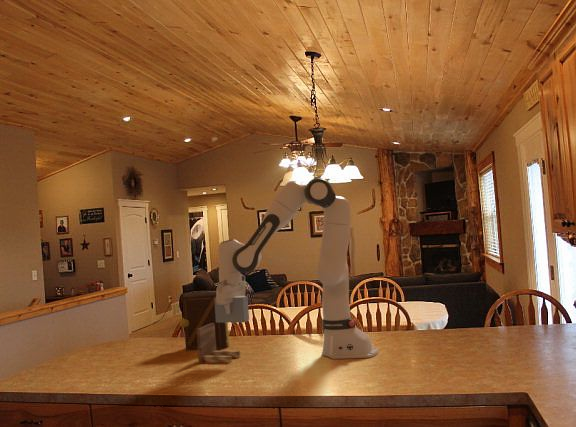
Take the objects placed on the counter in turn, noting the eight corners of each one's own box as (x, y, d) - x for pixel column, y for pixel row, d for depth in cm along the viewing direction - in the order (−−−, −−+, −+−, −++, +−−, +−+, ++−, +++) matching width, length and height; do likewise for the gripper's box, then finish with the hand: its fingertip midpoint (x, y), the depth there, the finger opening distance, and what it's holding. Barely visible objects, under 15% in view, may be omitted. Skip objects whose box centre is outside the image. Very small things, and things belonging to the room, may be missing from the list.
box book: (249, 320, 220) (247, 295, 220) (244, 322, 216) (242, 297, 216) (220, 320, 224) (219, 296, 225) (215, 322, 220) (214, 297, 220)
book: (230, 344, 250) (226, 291, 250) (226, 348, 241) (222, 293, 242) (184, 347, 252) (181, 294, 252) (179, 351, 243) (175, 296, 244)
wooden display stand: (242, 355, 225) (239, 322, 226) (228, 363, 213) (226, 328, 214) (213, 355, 230) (211, 322, 230) (198, 363, 218) (196, 329, 218)
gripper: (225, 281, 210) (227, 317, 209) (246, 276, 229) (249, 308, 228) (211, 282, 212) (213, 317, 211) (233, 276, 231) (235, 308, 231)
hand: (232, 312), depth 220 cm, fingers closed on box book, 4 cm apart
